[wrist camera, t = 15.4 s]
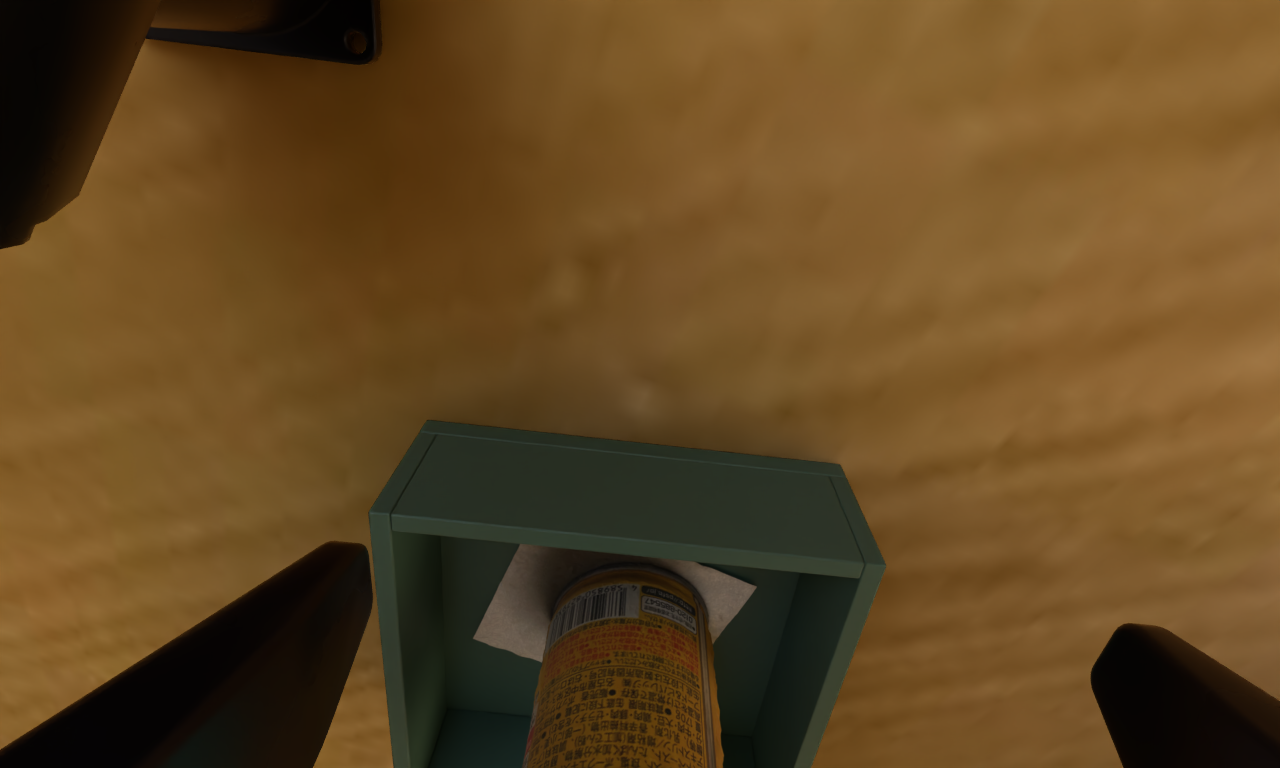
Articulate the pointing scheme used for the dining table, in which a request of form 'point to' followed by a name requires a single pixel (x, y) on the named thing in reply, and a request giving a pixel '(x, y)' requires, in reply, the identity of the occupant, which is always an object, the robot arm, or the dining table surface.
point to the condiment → (616, 655)
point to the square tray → (621, 524)
